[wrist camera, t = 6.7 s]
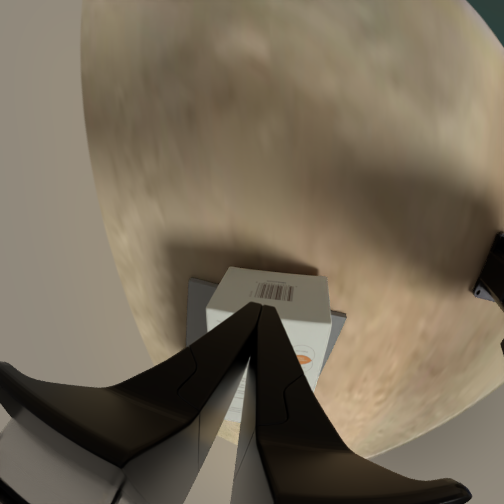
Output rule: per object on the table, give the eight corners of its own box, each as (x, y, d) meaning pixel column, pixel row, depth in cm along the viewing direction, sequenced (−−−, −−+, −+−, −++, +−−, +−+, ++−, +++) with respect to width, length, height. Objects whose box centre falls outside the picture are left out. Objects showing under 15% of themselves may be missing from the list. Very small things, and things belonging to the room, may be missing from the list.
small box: (228, 263, 23) (229, 372, 28) (203, 307, 17) (213, 419, 23) (329, 274, 22) (305, 383, 27) (335, 324, 16) (301, 432, 21)
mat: (345, 313, 24) (346, 318, 23) (307, 394, 29) (307, 398, 28) (191, 277, 25) (188, 280, 24) (187, 365, 30) (185, 368, 30)
